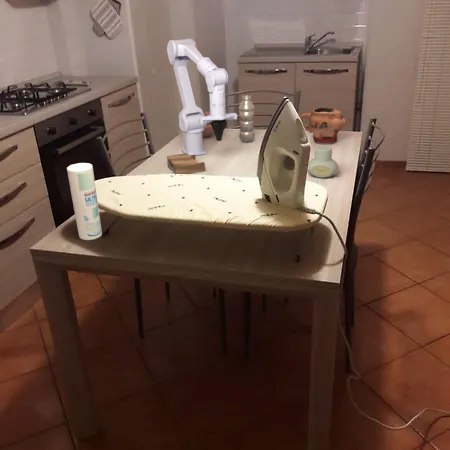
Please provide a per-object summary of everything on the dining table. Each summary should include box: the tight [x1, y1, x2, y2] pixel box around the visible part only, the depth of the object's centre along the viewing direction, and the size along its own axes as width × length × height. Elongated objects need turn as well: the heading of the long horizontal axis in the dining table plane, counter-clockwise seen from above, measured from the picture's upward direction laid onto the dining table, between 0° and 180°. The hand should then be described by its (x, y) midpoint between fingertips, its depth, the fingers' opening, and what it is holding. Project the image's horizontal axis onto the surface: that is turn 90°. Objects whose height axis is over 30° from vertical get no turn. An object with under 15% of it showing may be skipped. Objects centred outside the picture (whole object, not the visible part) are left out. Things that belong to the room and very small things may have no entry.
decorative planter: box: [299, 107, 347, 145], centre depth 213 cm, size 20×12×14 cm, turn 78°
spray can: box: [66, 162, 103, 241], centre depth 136 cm, size 6×6×20 cm
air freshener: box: [307, 145, 339, 179], centre depth 176 cm, size 11×8×10 cm
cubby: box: [166, 153, 206, 175], centre depth 188 cm, size 11×11×4 cm
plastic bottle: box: [238, 93, 256, 143], centre depth 215 cm, size 6×7×20 cm
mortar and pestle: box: [202, 111, 215, 138], centre depth 226 cm, size 12×12×12 cm
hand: (218, 140), depth 189 cm, fingers closed
